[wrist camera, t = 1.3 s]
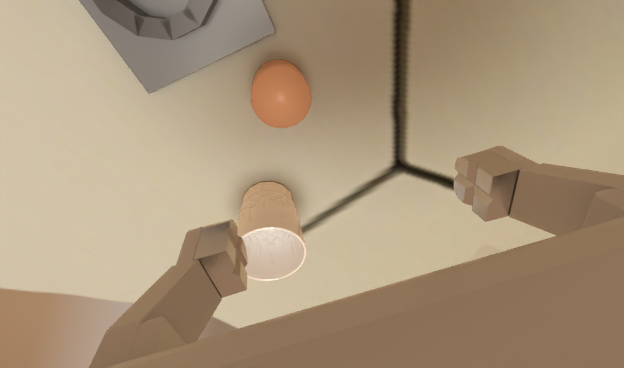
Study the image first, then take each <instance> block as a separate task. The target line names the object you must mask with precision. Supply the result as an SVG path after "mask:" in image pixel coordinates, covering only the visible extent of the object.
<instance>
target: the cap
mask: <svg viewBox="0 0 624 368" xmlns="http://www.w3.org/2000/svg"><path fill="white" fill-rule="evenodd" d="M251 102H252V106H253V109H254V111H255V113H256V115H257V116H258V117H259V118H260V119H261V120H262V121H263V122H264V123H266V124H268V125H270V126H272V127H276V128H287V127H291V126H294V125H296V124H297V123H299V122H300V121H301V120H302V119H303V118H304V117H305V116H306V114H307V113H308V110H309V108H310V104H311V93H310V89H309V86H308V84H307V82H306V81H305V79H304V77H303V76H302V74H301V72H300V71H299V70H298V68H297V67H296V66H295V65H293V64H292V63H290V62H288V61H285V60H279V59H277V60H271V61H268V62H266V63H264V64H263V65H262V66H261V67H260V68H259V69H258V70H257V72H256V74H255V76H254V80H253V86H252V93H251Z"/></svg>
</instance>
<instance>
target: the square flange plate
mask: <svg viewBox="0 0 624 368" xmlns="http://www.w3.org/2000/svg"><path fill="white" fill-rule="evenodd" d="M79 1H80V2H81V3H82V5H83V6H84V7H85V9H86V10H87V11H88V13H89V14H90V15H91V17H92V18H93V19H94V21H95V22H96V23H97V25H98V26H99V27H100V29H101V30H102V32H103V33H104V34H105V36H106V37H107V38H108V40H109V41H110V42H111V44H112V45H113V46H114V48H115V49H116V50H117V52H118V53H119V54H120V56H121V57H122V58H123V60H124V61H125V62H126V64H127V65H128V66H129V68H130V69H131V70H132V72H133V73H134V74H135V76H136V77H137V78H138V80H139V81H140V83H141V84H142V85H143V87H144V88H145V89H146V91H147V92H148V93H149V94H150V93H152V92H154V91H156V90H158V89H160V88H162V87H164V86H166V85H168V84H170V83H172V82H174V81H176V80H178V79H180V78H183V77H185V76H187V75H189V74H191V73H193V72H195V71H197V70H199V69H201V68H203V67H205V66H207V65H209V64H211V63H213V62H215V61H217V60H219V59H221V58H223V57H225V56H227V55H229V54H231V53H233V52H235V51H237V50H239V49H241V48H243V47H245V46H248V45H250V44H252V43H254V42H256V41H258V40H260V39H262V38H264V37H266V36H268V35H270V34H272V33H274V32H275V30H274V27H273V25H272V23H271V20H270V18H269V16H268V13H267V11H266V9H265V6H264V4H263V2H262V0H79Z"/></svg>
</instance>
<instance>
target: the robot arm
mask: <svg viewBox="0 0 624 368" xmlns="http://www.w3.org/2000/svg"><path fill="white" fill-rule="evenodd" d="M455 169H456V171H457V172H458V174H457V176H456V177H455V179H454V189H455V193H456V195H457V196H458V198H459V199H460V200H461V201H462V202H463V203H465V204H468V205H472V211H473V212H474V213H476V214H477V215H478V216H479V217H480V218H481V219H483V220H484V221H485V222H487V221H490V220H494V219H498V218H502V217H506V216H509V217H511V218H513V219H516V220H519V221H521V222H524V223H526V224H529V225H531V226H534V227H536V228H539V229H542V230H544V231H547V232H549V233H552V234H554V235H557V236H555V237H551V238H548V239H545V240H541V241H538V242H534V243H531V244H527V245H524V246H521V247H517V248H514V249H510V250H507V251H503V252H500V253H496V254H493V255H490V256H486V257H483V258H479V259H476V260H472V261H469V262H465V263H462V264H458V265H455V266H451V267H448V268H445V269H441V270H438V271H434V272H431V273H428V274H424V275H421V276H417V277H414V278H410V279H407V280H404V281H400V282H397V283H393V284H390V285H387V286H383V287H380V288H376V289H373V290H369V291H366V292H363V293H359V294H356V295H352V296H349V297H345V298H342V299H339V300H335V301H332V302H328V303H325V304H322V305H318V306H315V307H311V308H308V309H304V310H301V311H298V312H294V313H291V314H287V315H284V316H280V317H277V318H274V319H270V320H267V321H263V322H260V323H256V324H253V325H250V326H246V327H243V328H239V329H236V330H233V331H229V332H226V333H222V334H219V335H215V336H212V337H208V338H205V339H202V340H198V338H199V336H200V335H201V333H202V331H203V330H204V328H205V326H206V325H207V323H208V321H209V320H210V318H211V316H212V315H213V313H214V311H215V310H216V308H217V306H218V305H219V303H220V301H221V300H222V299H221V298H223V297H226V296H229V295H232V294H235V293H238V292H242V291H245V290H247V272H246V270H245V267H246V265H247V264H248V257H247V250H246V247H245V244H244V241H243V239H242V238H241V237H239V236H238V235H237V232H238V228H237V226H236V224H235V222H234V221H233V220H228V221H224V222H220V223H216V224H212V225H208V226H204V227H200V228H196V229H193V230H189V231H188V232H187V233H186V236H185V239H184V242H183V245H182V248H181V251H180V255H179V258H178V261H177V264H176V266H172V267H171V268H170V269H169V270H168V271H167V272H166V273H165V274H164V275H163V276H161V277H160V278H159V279H158V280H157V281H156V282H155V283H154V284H153V285H152V286H151V287H150V288H149V289H148V290H147V291H146V292H145V293H144V294H143V295H142V296H141V297H140V298H139V299H138V300H137V301H136V302H135V303H134V304H133V305H132V306H131V307H130V308H129V309H128V310H127V311H126V312H125V313H124V314H123V315H122V316H121V317H120V318H119V319H118V320H117V321H116V322H115V323H114V324H113V325H112V326H111V327H110V328H109V329H108V330H107V331H106V333H105V335H104V337H103V339H102V341H101V344H100V345H99V348H98V350H97V352H96V354H95V356H94V358H93V360H92V362H91V365H90V366H89V368H624V175H618V174H612V173H605V172H598V171H592V170H585V169H578V168H572V167H565V166H558V165H552V164H545V163H543V164H537V163H535V162H533V161H531V160H529V159H527V158H525V157H523V156H521V155H519V154H517V153H515V152H513V151H511V150H509V149H507V148H505V147H503V146H496V147H493V148H490V149H487V150H484V151H481V152H478V153H474V154H471V155H467V156H464V157H460V158H458V159H457V161H456V163H455ZM197 340H198V341H197Z"/></svg>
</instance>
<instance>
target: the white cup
mask: <svg viewBox="0 0 624 368" xmlns="http://www.w3.org/2000/svg"><path fill="white" fill-rule="evenodd" d="M237 228H238V232H237V235H238V236H239V237H241V238H242V239H243V241H244V244H245V247H246V250H247V257H248V264H247V265H246V267H245V270H246V272H247V277H248V278H251V279H255V280H260V281H272V280H278V279H282V278H285V277H287V276H289V275H291V274H293V273H294V272H295V271H297V270H298V269H299V268H300V267H301V265H302V264H303V262H304V260H305V258H306V246H305V242H304V238H303V234H302V230H301V225H300V221H299V218H298V214H297V211H296V207H295V206H294V202H293V199H292V196H291V193H290V191H289V190H288V189H286V188H285V187H284V186H283V185H281V184H278V183H275V182H260V183H258V184H256V185H254V186H252V187H250V188H249V190H248V191H247V192H246V194H245V195H244V197H243V203H242V208H241V210H240V213H239V218H238V222H237Z"/></svg>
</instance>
